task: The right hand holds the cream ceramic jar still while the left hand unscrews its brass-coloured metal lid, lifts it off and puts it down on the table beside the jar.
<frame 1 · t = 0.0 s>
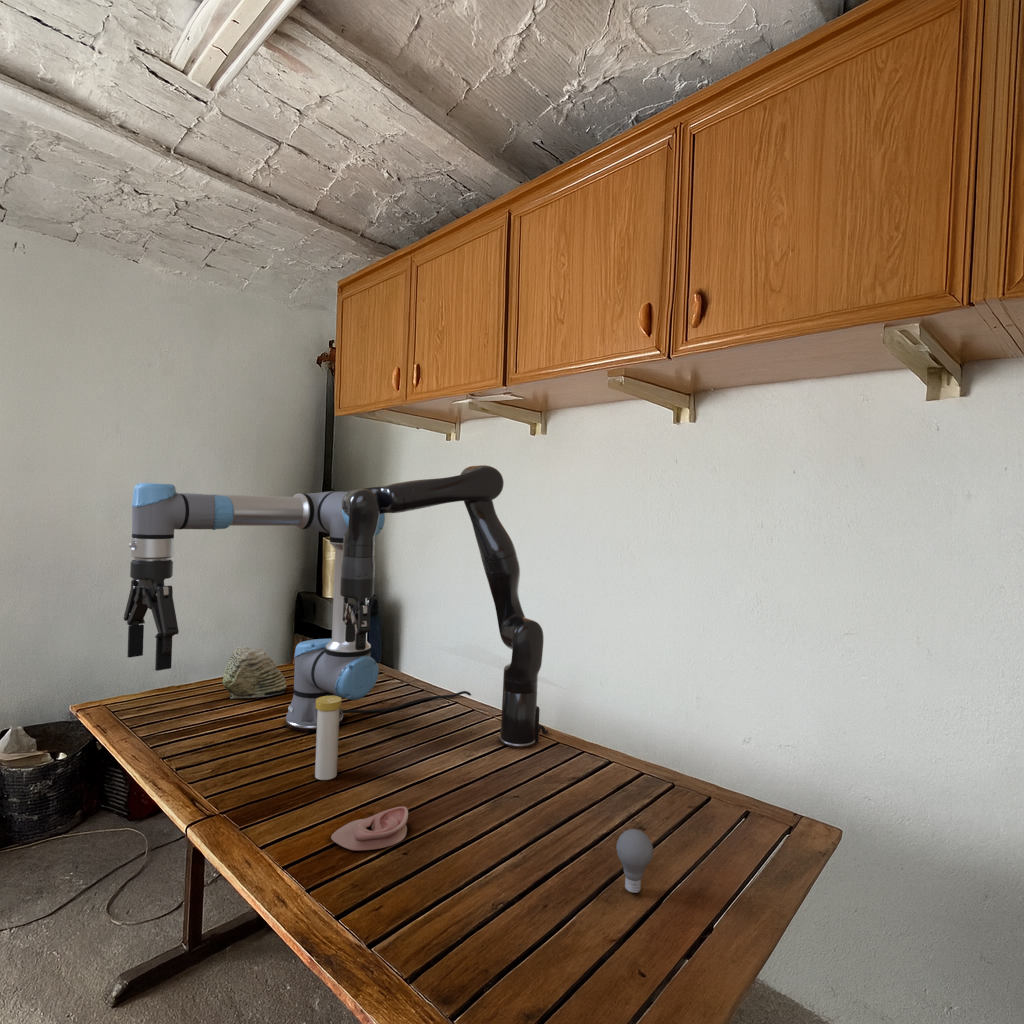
left hand: (148, 662, 129), 28 cm above the table, tool pointing down, fingers open, 13 cm apart
right hand: (355, 645, 146), 29 cm above the table, tool pointing down, fingers open, 8 cm apart
anatomical model: (370, 836, 119), on the table
light bulb: (632, 891, 106), on the table
fossil: (254, 694, 198), on the table
jar: (325, 775, 144), on the table
lid: (328, 701, 144), point 17 cm above the table, screwed on, not yet turned
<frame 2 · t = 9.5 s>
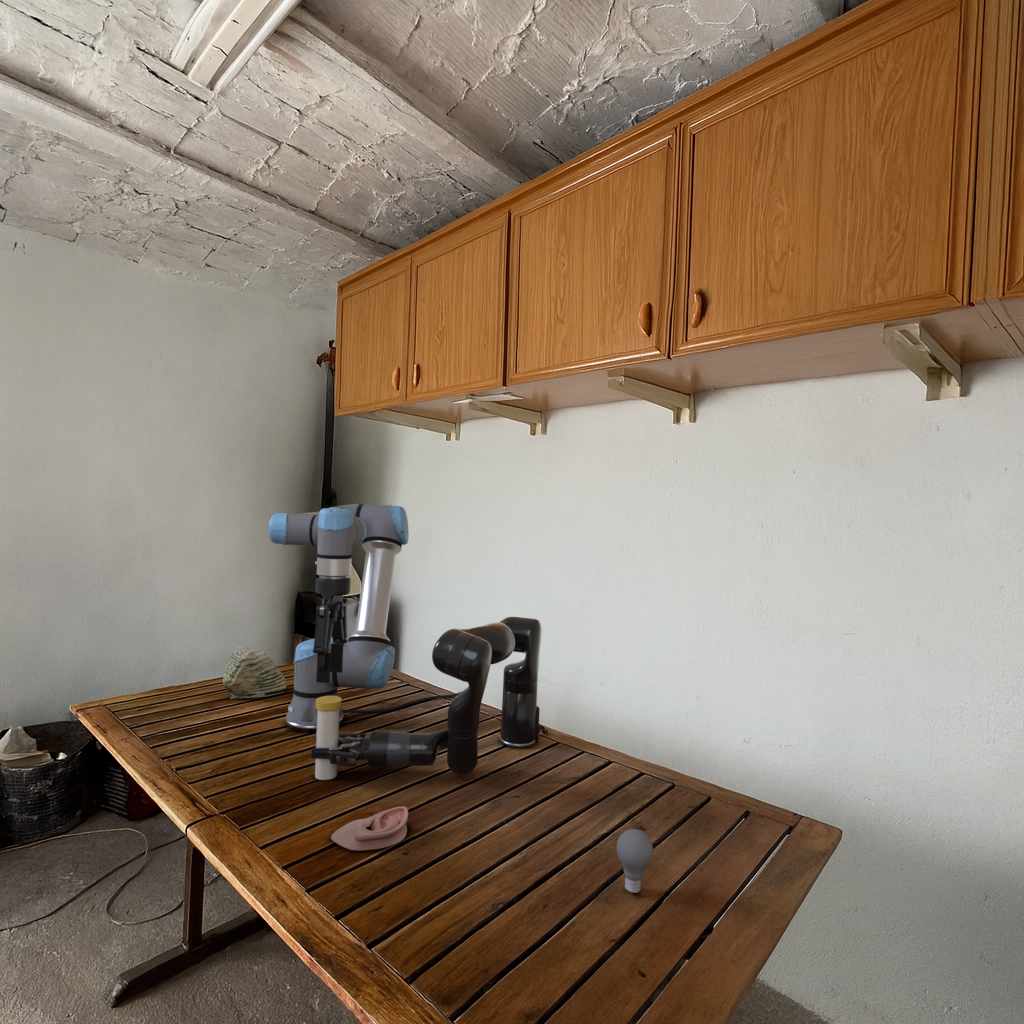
left hand: (329, 676, 144), 23 cm above the table, tool pointing down, fingers open, 8 cm apart
right hand: (315, 748, 144), 6 cm above the table, tool horizontal, fingers closed on jar, 5 cm apart
jar: (325, 775, 144), on the table, touching right hand
everything else where it was.
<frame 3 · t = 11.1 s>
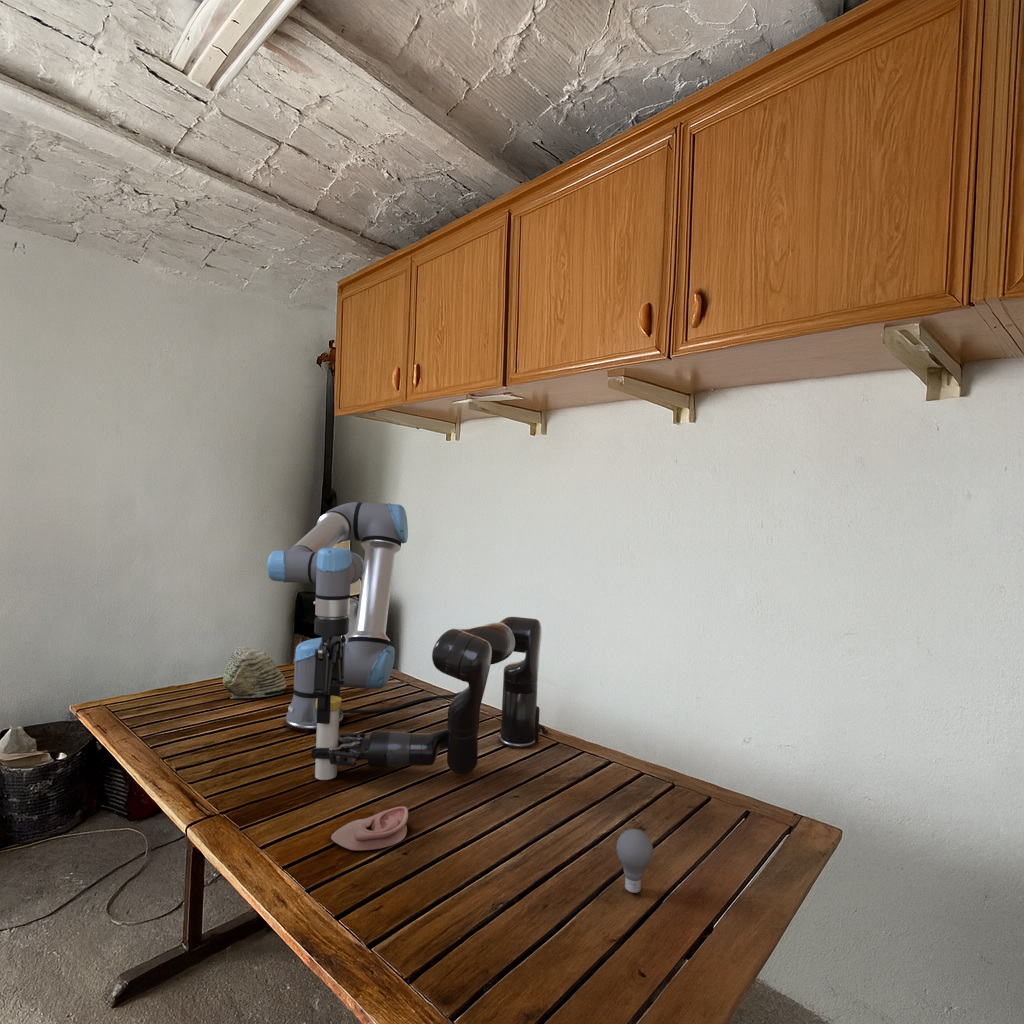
left hand: (328, 717, 144), 13 cm above the table, tool pointing down, fingers closed on lid, 6 cm apart
right hand: (315, 748, 144), 6 cm above the table, tool horizontal, fingers closed on jar, 5 cm apart
jar: (325, 775, 144), on the table, touching right hand
lid: (328, 701, 144), point 17 cm above the table, screwed on, not yet turned, touching left hand
everything else where it was.
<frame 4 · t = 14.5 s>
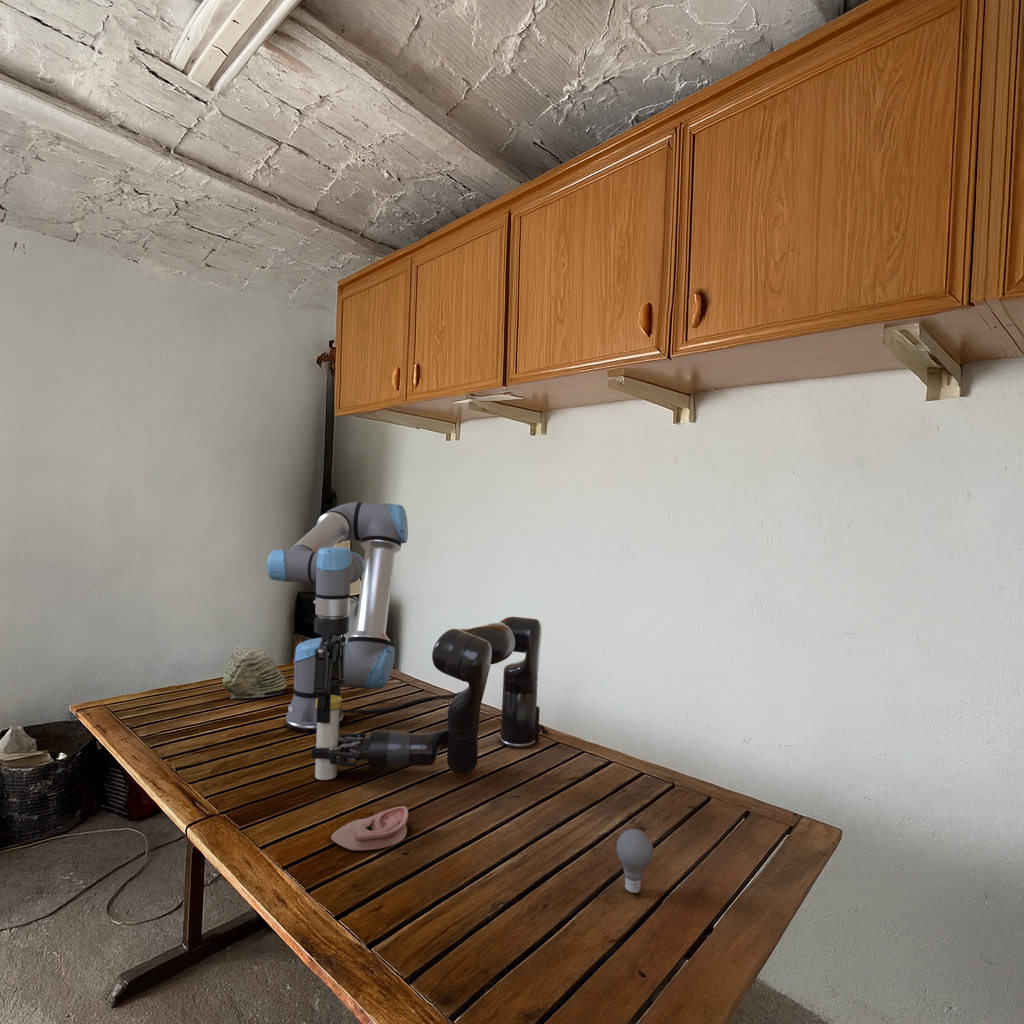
left hand: (328, 717, 144), 13 cm above the table, tool pointing down, fingers closed on lid, 6 cm apart
right hand: (315, 748, 144), 6 cm above the table, tool horizontal, fingers closed on jar, 5 cm apart
jar: (326, 775, 144), on the table, touching right hand
lid: (328, 700, 144), point 17 cm above the table, turned 92° so far, risen 0.2 cm, still on its thread, touching left hand
everything else where it was.
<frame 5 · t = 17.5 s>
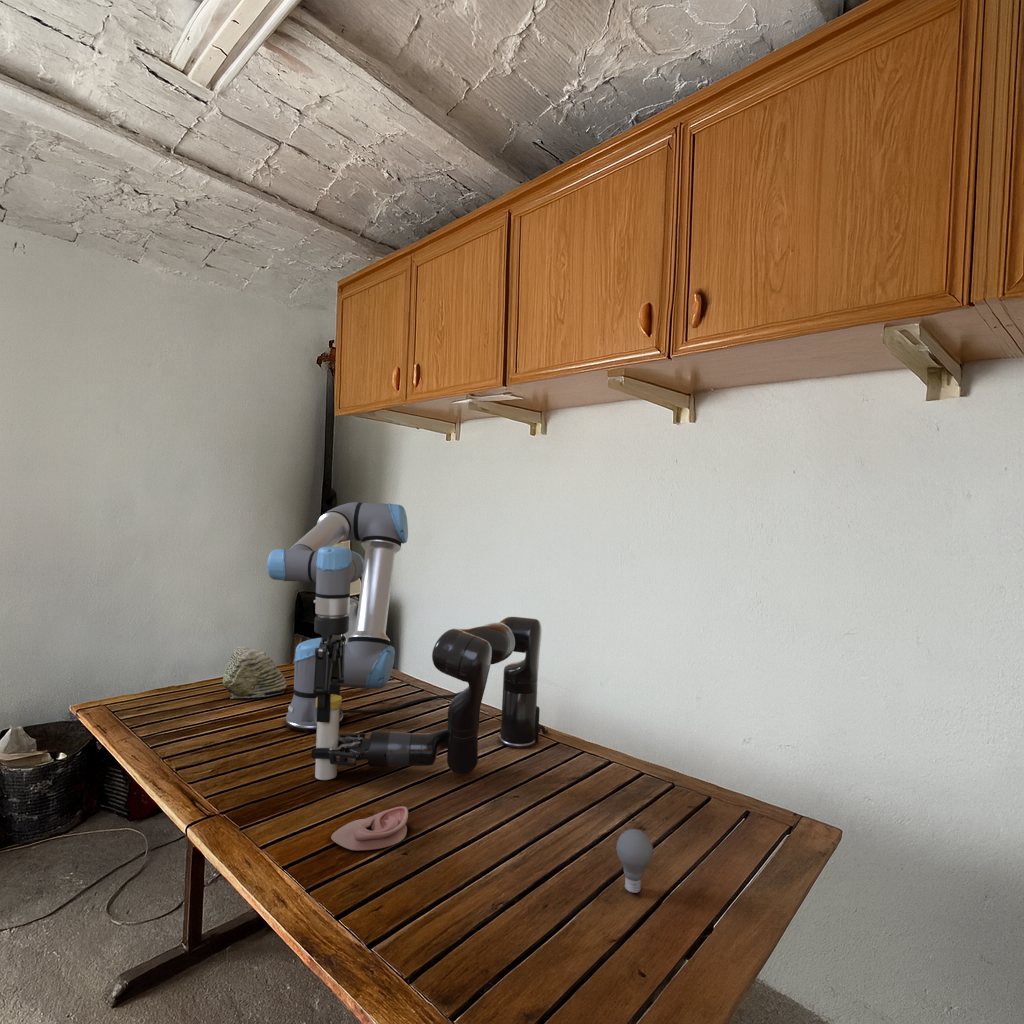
left hand: (328, 716, 144), 13 cm above the table, tool pointing down, fingers closed on lid, 6 cm apart
right hand: (315, 748, 144), 6 cm above the table, tool horizontal, fingers closed on jar, 5 cm apart
jar: (326, 775, 144), on the table, touching right hand
lid: (328, 699, 144), point 17 cm above the table, turned 185° so far, risen 0.3 cm, still on its thread, touching left hand
everything else where it was.
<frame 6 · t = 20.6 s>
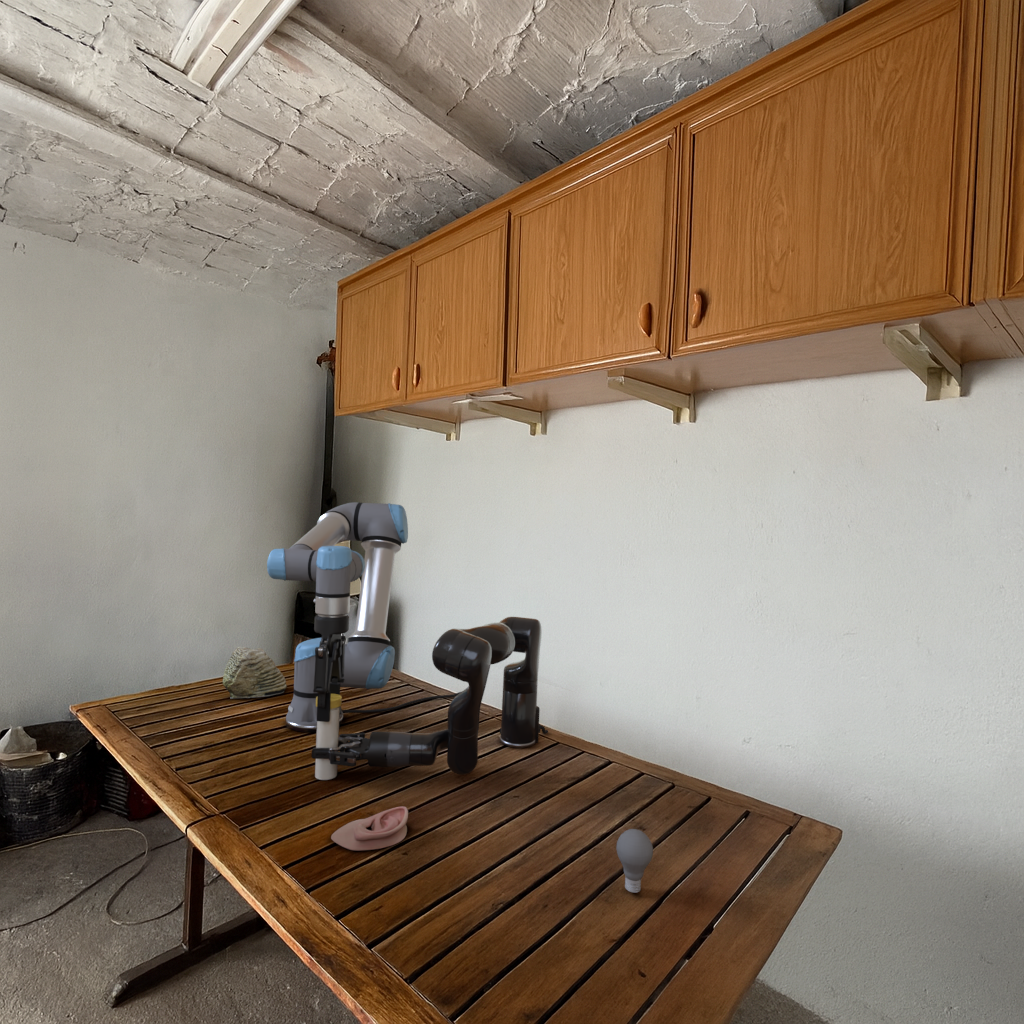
left hand: (328, 715, 144), 14 cm above the table, tool pointing down, fingers closed on lid, 6 cm apart
right hand: (315, 748, 144), 6 cm above the table, tool horizontal, fingers closed on jar, 5 cm apart
jar: (326, 775, 144), on the table, touching right hand
lid: (328, 698, 144), point 18 cm above the table, turned 277° so far, risen 0.5 cm, still on its thread, touching left hand
everything else where it was.
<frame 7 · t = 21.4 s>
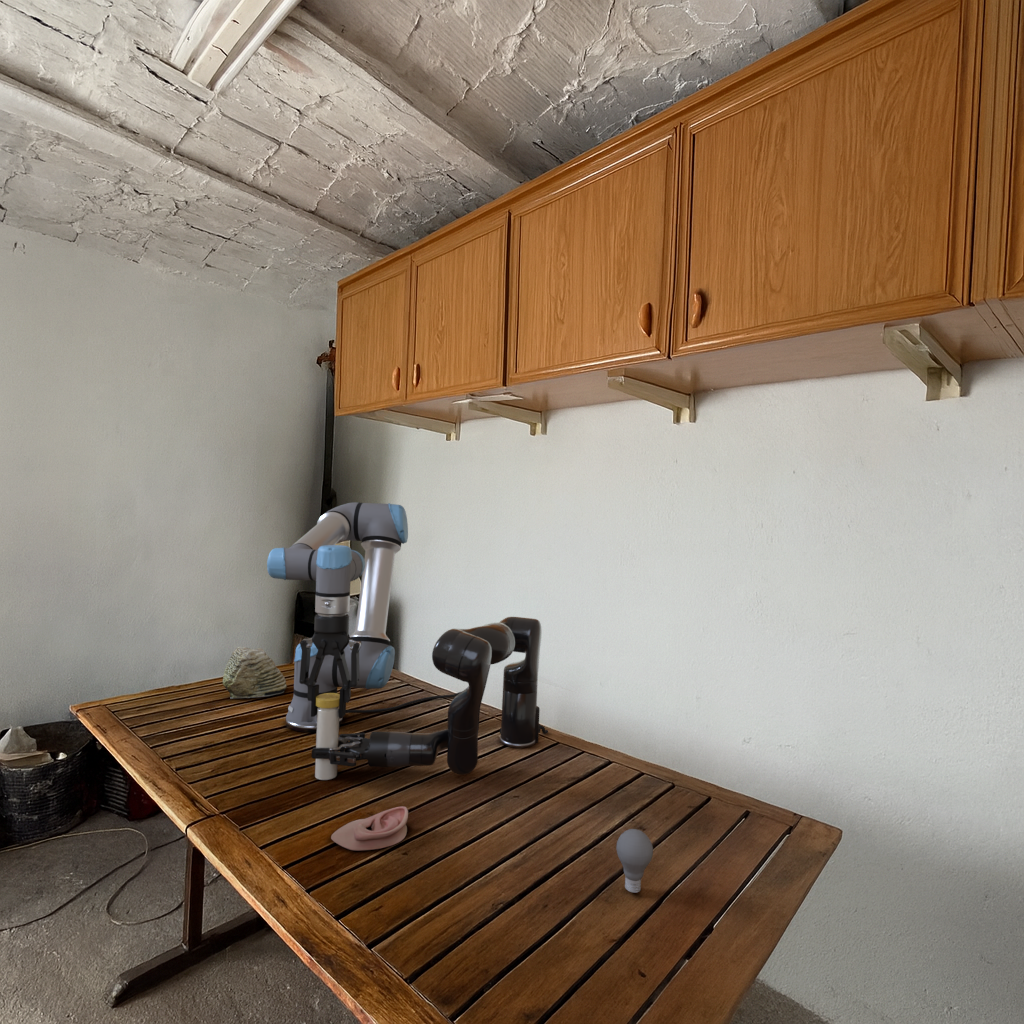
left hand: (328, 715, 144), 14 cm above the table, tool pointing down, fingers closed on lid, 6 cm apart
right hand: (315, 748, 144), 6 cm above the table, tool horizontal, fingers closed on jar, 5 cm apart
jar: (326, 775, 144), on the table, touching right hand
lid: (329, 698, 144), point 18 cm above the table, off its thread, touching left hand
everything else where it was.
when the left hand's fingers open (0 cm above the table, at t = 27.7 s): lid drops 3 cm, point 1 cm above the table.
when the right hand's fingers open (6 cm above the table, at t = 28.3 s): jar stays where it is, on the table.
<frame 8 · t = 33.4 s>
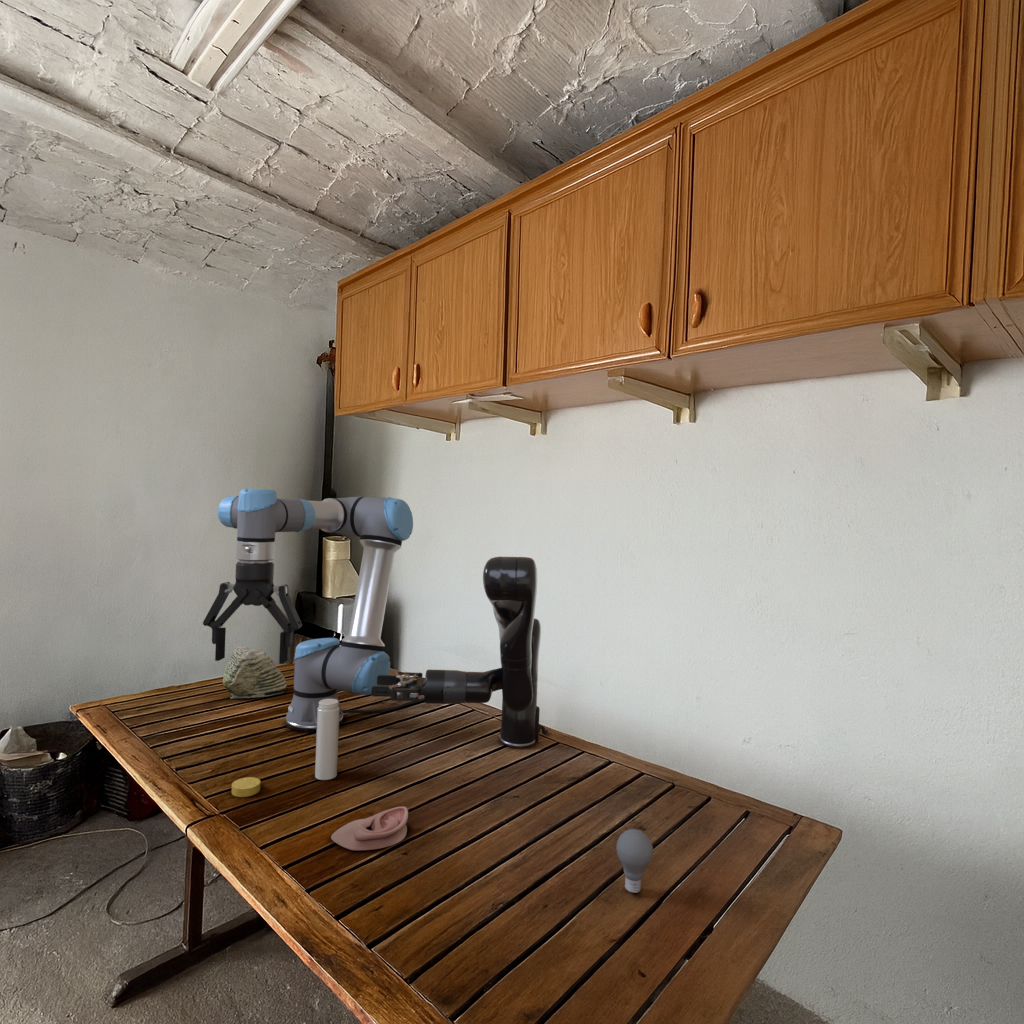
left hand: (251, 660, 135), 28 cm above the table, tool pointing down, fingers open, 13 cm apart
right hand: (374, 685, 144), 21 cm above the table, tool horizontal, fingers open, 8 cm apart
jar: (326, 775, 144), on the table
lid: (246, 784, 135), point 1 cm above the table, off its thread
everything else where it was.
at the end: lid came off its thread; lid point 1.3 cm above the table; the left hand is holding nothing; the right hand is holding nothing; jar tilted 0°; jar moved 0.0 cm from its start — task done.
